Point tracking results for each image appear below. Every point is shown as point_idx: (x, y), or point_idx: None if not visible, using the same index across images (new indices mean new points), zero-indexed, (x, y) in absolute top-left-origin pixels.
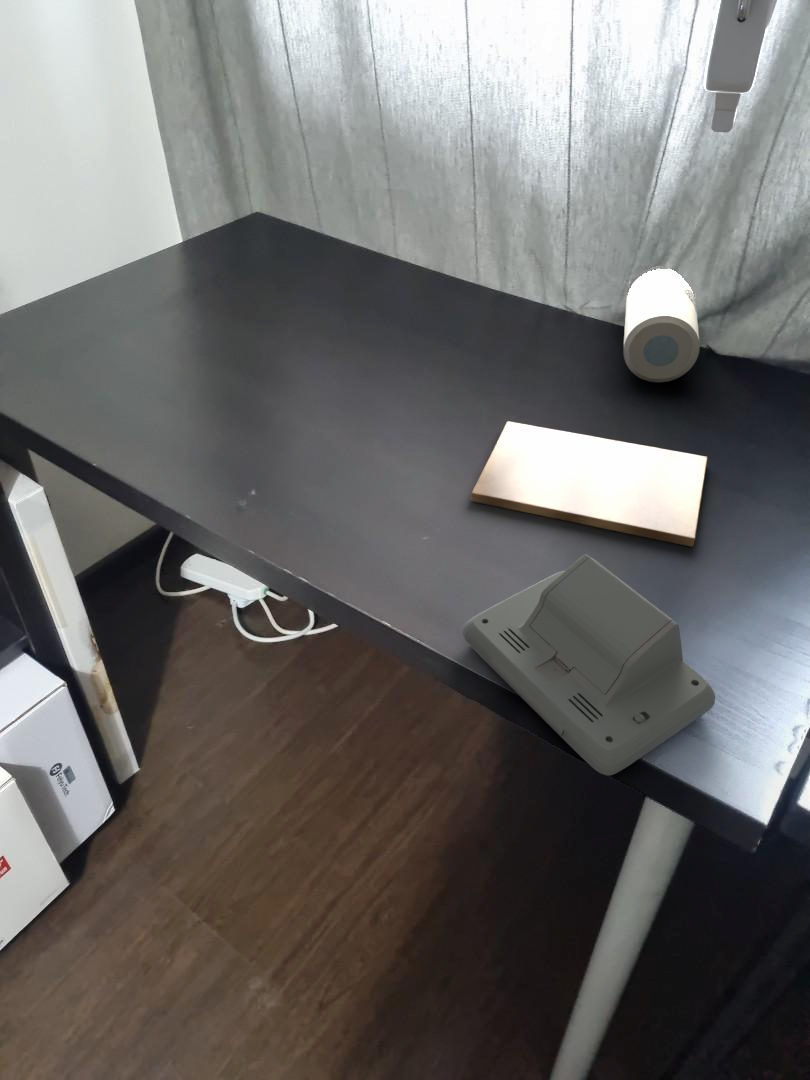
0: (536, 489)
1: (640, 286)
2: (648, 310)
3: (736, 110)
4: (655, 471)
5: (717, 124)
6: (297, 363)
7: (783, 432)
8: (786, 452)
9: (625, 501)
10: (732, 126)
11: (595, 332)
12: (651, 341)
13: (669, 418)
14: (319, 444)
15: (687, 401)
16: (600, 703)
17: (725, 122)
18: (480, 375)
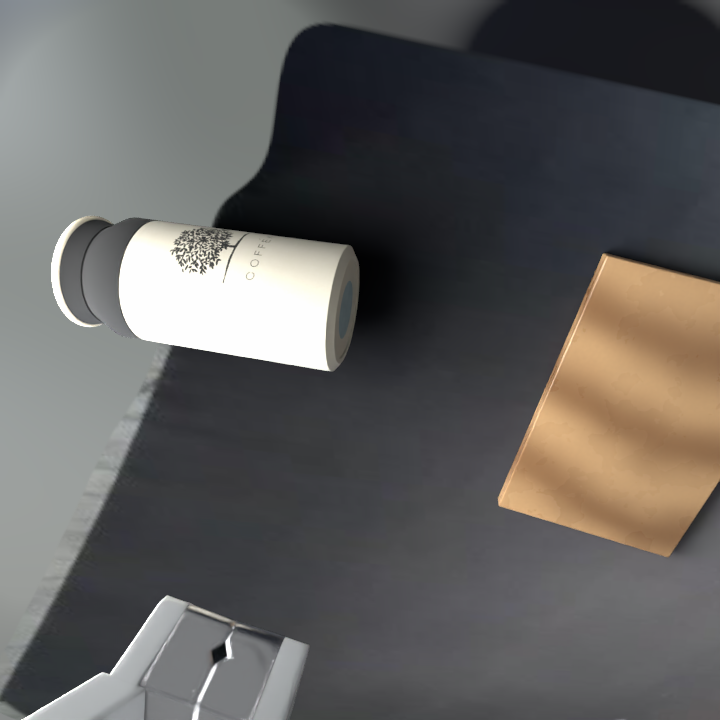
0: (670, 491)
1: (178, 341)
2: (292, 353)
3: (153, 650)
4: (643, 340)
5: (292, 706)
6: (356, 680)
7: (505, 96)
8: (571, 103)
9: (717, 391)
10: (304, 660)
11: (211, 358)
12: (340, 332)
13: (464, 285)
14: (530, 669)
15: (410, 249)
16: None
17: (294, 697)
18: (361, 513)
